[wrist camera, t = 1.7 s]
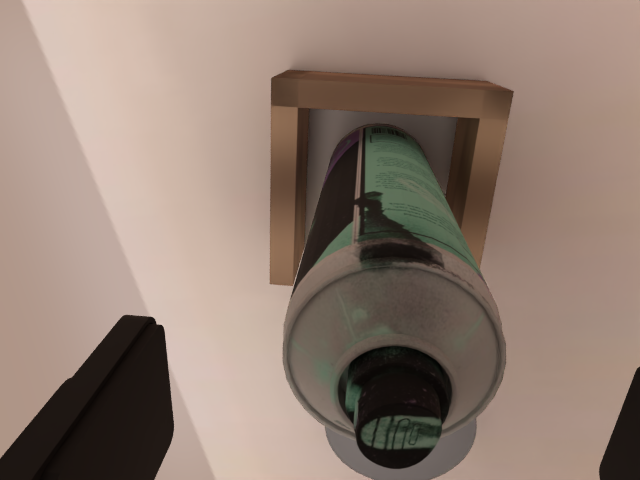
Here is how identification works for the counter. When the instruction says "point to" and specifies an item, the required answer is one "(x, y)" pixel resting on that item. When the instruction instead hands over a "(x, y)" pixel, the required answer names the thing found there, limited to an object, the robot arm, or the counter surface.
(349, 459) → the mat
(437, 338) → the spray can
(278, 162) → the frame
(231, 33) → the counter surface
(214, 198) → the counter surface
